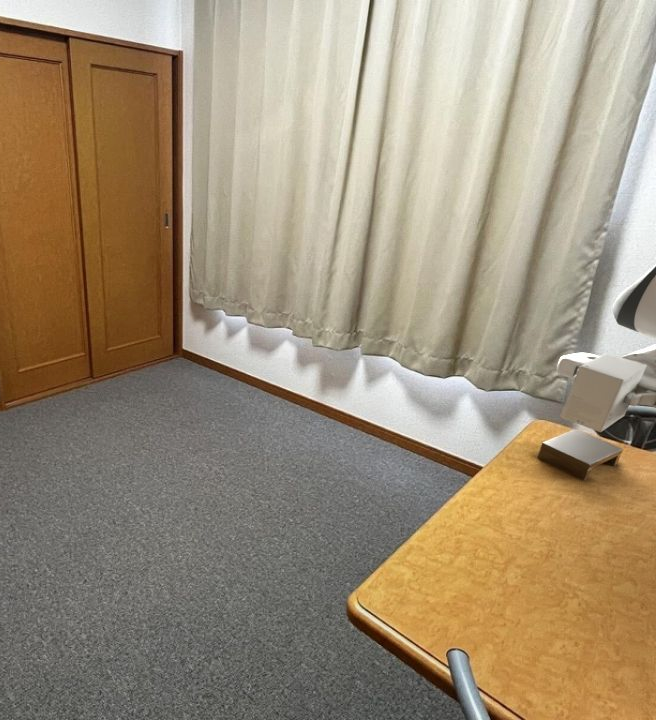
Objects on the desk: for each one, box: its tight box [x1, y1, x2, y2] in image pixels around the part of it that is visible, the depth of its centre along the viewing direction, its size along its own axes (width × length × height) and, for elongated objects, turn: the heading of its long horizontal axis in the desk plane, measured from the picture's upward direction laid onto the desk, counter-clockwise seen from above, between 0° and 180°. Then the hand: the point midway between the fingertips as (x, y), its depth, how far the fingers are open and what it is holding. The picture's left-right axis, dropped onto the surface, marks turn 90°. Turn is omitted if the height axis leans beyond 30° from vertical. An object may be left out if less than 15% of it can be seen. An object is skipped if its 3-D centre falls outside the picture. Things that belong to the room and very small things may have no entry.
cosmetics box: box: [559, 352, 647, 433], centre depth 84 cm, size 10×6×10 cm, turn 122°
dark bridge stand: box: [537, 428, 624, 481], centre depth 91 cm, size 8×11×4 cm
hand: (601, 390), depth 83 cm, fingers closed on cosmetics box, 6 cm apart
